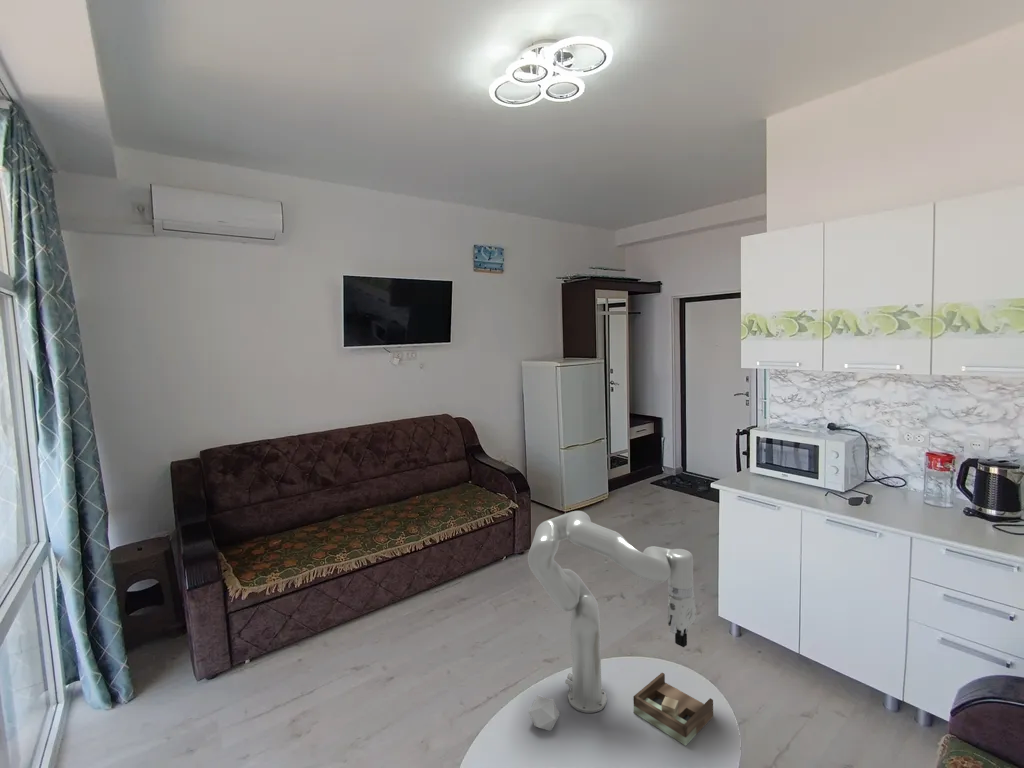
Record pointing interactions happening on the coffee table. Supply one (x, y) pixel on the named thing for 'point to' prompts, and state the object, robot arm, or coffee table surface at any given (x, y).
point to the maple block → (670, 707)
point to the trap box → (682, 728)
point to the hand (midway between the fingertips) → (681, 644)
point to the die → (544, 713)
